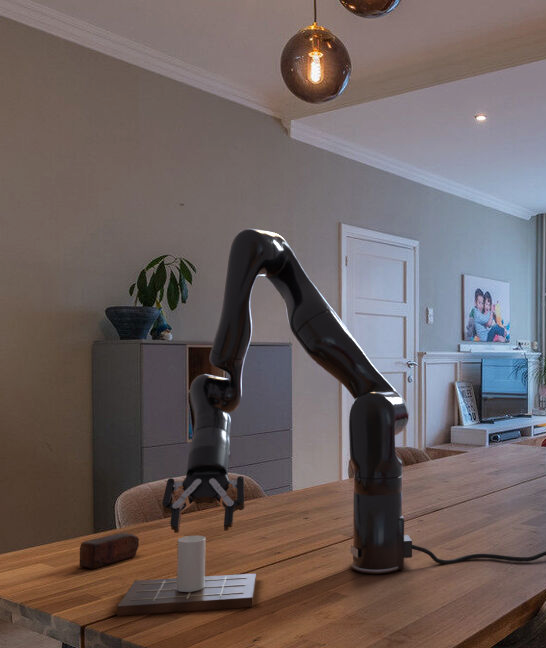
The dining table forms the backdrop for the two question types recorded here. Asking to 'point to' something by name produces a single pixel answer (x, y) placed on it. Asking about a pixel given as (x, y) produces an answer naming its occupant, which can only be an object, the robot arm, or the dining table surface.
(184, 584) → the white upright cylinder
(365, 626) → the dining table surface
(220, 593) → the board
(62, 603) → the dining table surface
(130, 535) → the brick
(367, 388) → the robot arm
